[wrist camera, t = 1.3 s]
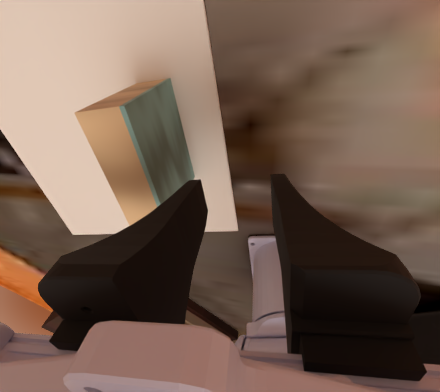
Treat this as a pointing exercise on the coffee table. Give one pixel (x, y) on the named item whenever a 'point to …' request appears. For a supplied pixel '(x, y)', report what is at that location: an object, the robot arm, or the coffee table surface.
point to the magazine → (427, 335)
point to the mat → (101, 88)
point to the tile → (139, 145)
